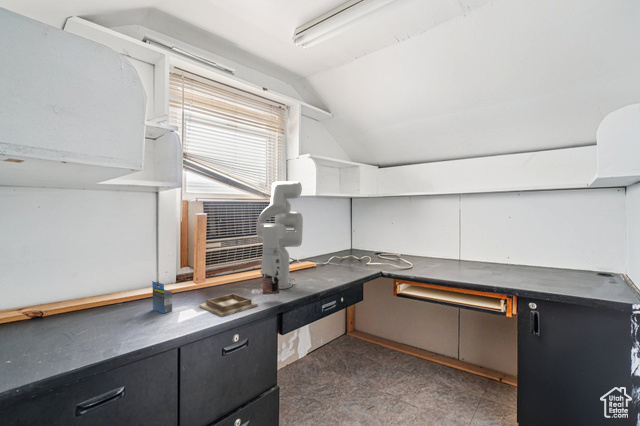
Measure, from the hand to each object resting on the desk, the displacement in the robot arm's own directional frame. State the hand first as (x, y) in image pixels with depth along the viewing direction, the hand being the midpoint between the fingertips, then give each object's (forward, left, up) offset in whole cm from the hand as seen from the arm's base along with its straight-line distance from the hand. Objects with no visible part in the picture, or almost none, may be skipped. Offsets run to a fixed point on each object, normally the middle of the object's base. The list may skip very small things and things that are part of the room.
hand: (271, 289), depth 144 cm
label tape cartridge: (+40, -23, -6) cm, 47 cm away
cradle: (+18, -7, -5) cm, 20 cm away
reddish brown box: (0, 0, -2) cm, 2 cm away
